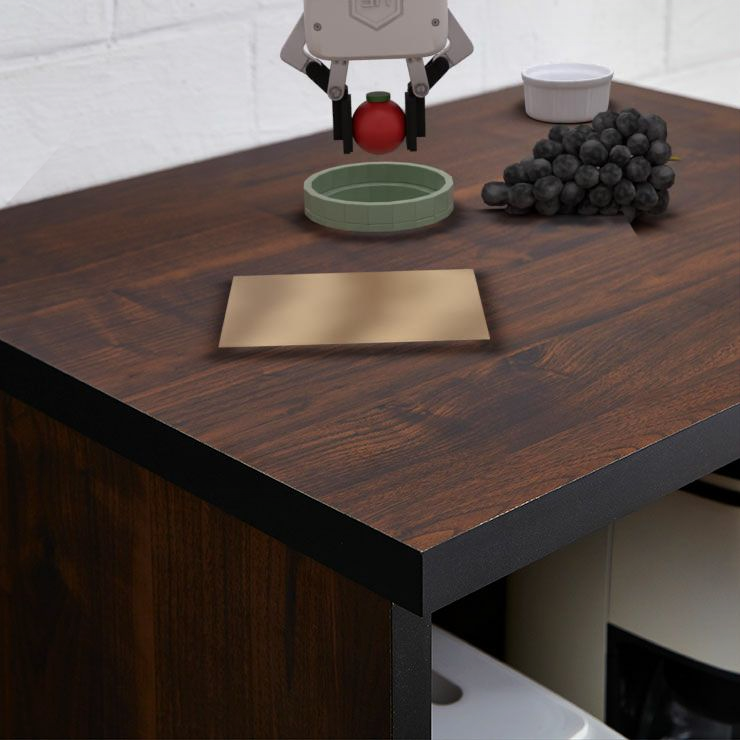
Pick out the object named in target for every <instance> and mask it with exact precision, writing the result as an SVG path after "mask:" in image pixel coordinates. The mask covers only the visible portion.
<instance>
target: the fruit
mask: <svg viewBox="0 0 740 740" xmlns="http://www.w3.org/2000/svg"><path fill="white" fill-rule="evenodd" d="M667 138H668V125H667V122H666V121H665V120H664V119H663V118H661V116H660V115H658V114H654V113H652V112H649V113H644V114H642V113H641V112H640V111H638V110H637V108H635V107H626V108H623V109H622V110H620V112H619V111H617V110H616V109H614V108H613V109H607V111H605V112H599V113H598V114H597V115H596V116H595V117H594V119H593V120H592V121H591V126H589V125H588V124H583V123H582V124H578V125H577V126H575V127H574V128H571V129H570V128H569V127H568V126H567V125H566V124H556V125H554V126H553V127H552V128H550V130H549V131H548V134H547V138H541V139H539V140H537V141H536V142H535V144H534V145H533V148H532V156H526V157H523V159H521V160H520V162H519V163H518V162H513V163H511V164H508V165H507V166H506V167H505V168H504V169H503V175H502V179H503V181H499V180H497V181H496V180H493V181H489V182H486V183H484V185H483V186H482V189H481V193H480V196H481V198H482V201H483V204H485V205H487V206H489V207H504V206H506V207H505V209H504V212H505V213H508V214H511V215H523V214H527V213H529V212H532V211H533V209H535V210H536V211H537V213H538V214H540V215H543V216H553V215H555V214H556V213H560V214H572V213H573V212H576V209H577V213H578V214H581V215H586V216H592V215H597V214H598V213H600V214H602V215H607V216H612V215H613V216H615V215H618V214H619V212H622V213H623V215H624V217H625V218H626V220H627V222H628V224H632V222H633V221H634V219H636V218H638V217H639V216H640V215H642V214H643V213H644V212H647V213H648V214H650V215H652V216H658V215H661V214H663V213H665V212H667V211H668V209H669V204H670V200H671V197H670V192H669V189H670V188H672V187H673V185H674V184H675V180H676V173H675V170H674V169H673V168H672V167H671V166H669V165H667V163H668V162H683V160H682V159H681V158H680V157H678V156H673V153H672V152H673V151H672V146H671V145H670V144H669V142H667Z"/></svg>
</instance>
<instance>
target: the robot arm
mask: <svg viewBox="0 0 740 740" xmlns="http://www.w3.org/2000/svg"><path fill="white" fill-rule="evenodd" d="M448 42H449V43H448ZM447 43H448V45H447ZM305 46H306V48H307V50H308V52H307V51H306V50H305V49H304V47H305ZM474 50H475V46H474V44H473V42H472V40H471V39H470V37H469V36H468V34H467V32H466V31H465V30H464V29H463V27H462V26H461V24H460V22H459V21H458V20H457V18H456V16H455V15H454V14H453V13H452V11H451V9H450V8H449V6H448V0H303V12H302V13H301V15H300V16H299V19H298V20H297V22H296V23H295V25H294V27H293V28H292V30H291V32H290V34H289V36H288V37H287V38H286V40H285V42H284V43H283V46H282V47H281V49H280V53H279V59H280V60H281V61H283V62H284V63H285V64H287V65H288V66H290V67H292V68H294V69H295V70H297V71H298V72H300V73H302V74H303V75H306V76H307V78H309V80H310V81H312V82H313V83H314V84H315V85H316V86H317V87H319V88H320V89H321V90H322V91H323V92H324V93H325V94H326V95H327V97H328V98H329V99H330V100H331V109H332V111H331V113H332V114H331V115H332V135H333V141H342V147H343V149H342V151H343V155H351V153H354V138H353V135H352V116H353V110H352V93H349V86H348V84H346V82H347V78H348V77H347V76H348V70H349V64H350V61H351V62H352V61H374V60H375V61H376V60H401V59H402V60H403V59H405V62H406V66H407V71H408V76H409V80H410V81H409V82H408V83H407V89H406V91H404V113H405V115H406V137H405V144H406V150H407V151H409V152H410V153H411V152H412V153H413V152H414V153H415V152H418V138H426V134H427V133H426V132H427V131H426V130H427V129H426V97H427V96H428V94H429V93H430V91H431V90H432V88H433V87H434V86H435V85H437V83H438V82H439V81H440V80H441V79H442V78H443V77H444V76H445V75H446V74H447V73H448V71H449V70H451V69H452V68H453V67H455V66H457V65H459V64H460V63H461V62H463V60H465V59H467V58H468V57H469V56H471V55H472V54H473V53H474ZM428 57H429V58H430V57H431V58H430V59H429V60H428V62H426V64H425V63H424V58H428ZM321 60H322V61H327V62H328V61H329V62H330V65H329V66H327V65H325V63H324V62H322V61H321Z"/></svg>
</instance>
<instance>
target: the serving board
mask: <svg viewBox="0 0 740 740" xmlns="http://www.w3.org/2000/svg"><path fill="white" fill-rule="evenodd" d="M487 324H488V323H487V320H486V315H485V311H484V308H483V303H482V300H481V294H480V291H479V286H478V283H477V279H476V274H475V270H474V269H473V268H459V269H458V268H456V269H455V268H454V269H427V270H425V269H424V270H395V271H393V270H392V271H391V270H390V271H362V272H361V271H359V272H358V271H357V272H327V273H326V272H325V273H323V272H322V273H294V274H263V275H234V276H232V281H231V286H230V291H229V295H228V300H227V305H226V310H225V314H224V320H223V323H222V328H221V332H220V337H219V341H218V342H219V343H218V348H220V349H221V348H249V347H253V348H254V347H282V346H283V347H284V346H315V345H345V344H346V345H349V344H351V345H353V344H380V343H381V344H382V343H415V342H417V343H418V342H445V341H446V342H447V341H478V340H479V341H481V340H482V341H483V340H491V337H490V332H489V329H488V325H487Z"/></svg>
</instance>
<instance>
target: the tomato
mask: <svg viewBox="0 0 740 740" xmlns="http://www.w3.org/2000/svg"><path fill="white" fill-rule="evenodd" d="M391 97H392V95H391V93H390V92H389V91H386V90H385V91H383V90H381V91H380V90H375V91H370V92H367V93H366V94H365V100H364V101H363V102H361V103H360V104H359V105H358V106H357V107H356V109H355V110H354V112H353V113H352V135H353V141H354V142H355V143H356V145H357V146H358V147H359V148H360V149H361V150H362V151H364V152H366V153H368V154H371V155H375V156H381V155H382V156H383V155H387V154H391V153H393V152H394V151H396V150H397V149H398V148H399V147H401V145H402V144H403V142H404V140H406V115H405V110H404V109H403V108H402V107H401V106H400V105H399V104H398V103H397V102H396V101H394V100H393V99H391Z"/></svg>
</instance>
